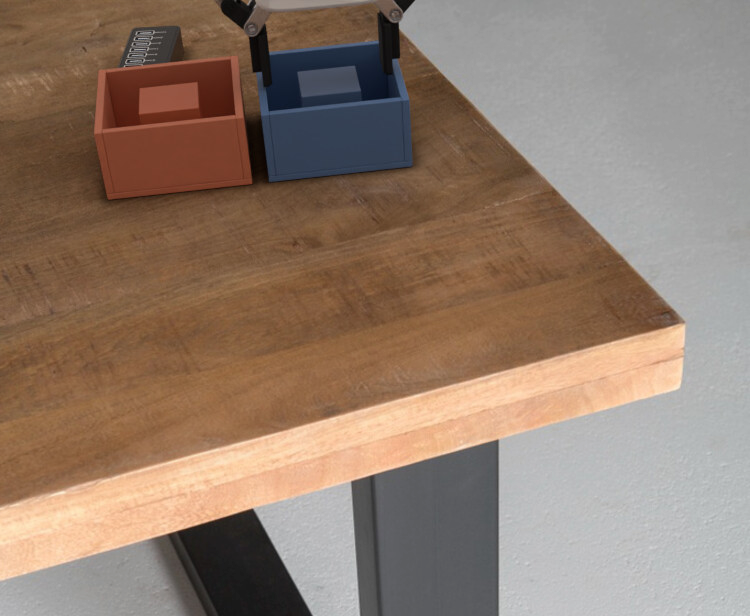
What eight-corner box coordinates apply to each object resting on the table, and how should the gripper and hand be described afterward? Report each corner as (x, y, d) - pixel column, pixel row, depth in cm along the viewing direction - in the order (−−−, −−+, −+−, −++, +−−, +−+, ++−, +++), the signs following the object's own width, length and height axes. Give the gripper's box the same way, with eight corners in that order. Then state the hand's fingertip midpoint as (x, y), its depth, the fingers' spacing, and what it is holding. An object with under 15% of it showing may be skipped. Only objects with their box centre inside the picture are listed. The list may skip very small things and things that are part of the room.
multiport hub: (184, 49, 128) (180, 24, 127) (162, 123, 118) (158, 96, 116) (136, 51, 128) (132, 26, 127) (110, 125, 118) (105, 99, 116)
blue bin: (269, 182, 109) (260, 115, 105) (261, 117, 117) (253, 53, 114) (412, 166, 110) (409, 99, 106) (395, 103, 118) (391, 38, 114)
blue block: (306, 152, 111) (301, 96, 108) (302, 126, 115) (297, 71, 112) (364, 146, 112) (360, 90, 108) (358, 120, 115) (354, 65, 112)
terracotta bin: (107, 200, 109) (93, 133, 105) (111, 133, 117) (98, 69, 113) (252, 184, 109) (243, 117, 105) (246, 119, 117) (237, 55, 114)
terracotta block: (148, 169, 111) (138, 114, 108) (149, 142, 114) (139, 88, 111) (207, 162, 111) (198, 107, 108) (205, 136, 114) (197, 81, 111)
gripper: (183, -139, 95) (216, 106, 106) (439, -162, 95) (444, 83, 107) (182, -172, 100) (214, 64, 112) (424, -193, 101) (430, 43, 113)
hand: (326, 73), depth 110 cm, fingers open, 9 cm apart
